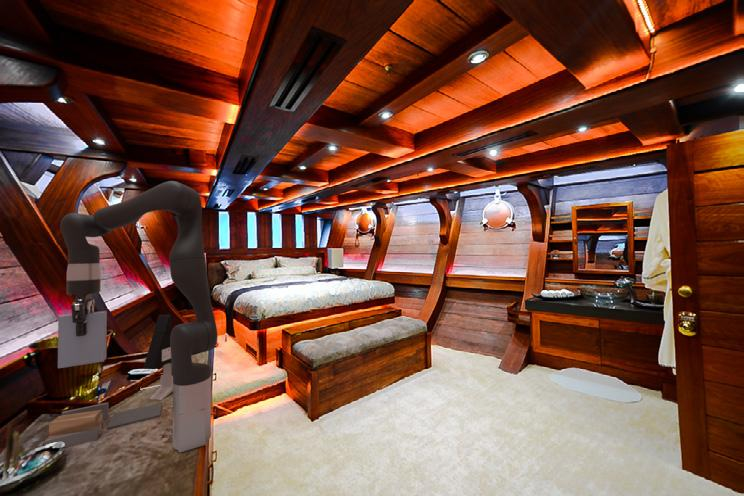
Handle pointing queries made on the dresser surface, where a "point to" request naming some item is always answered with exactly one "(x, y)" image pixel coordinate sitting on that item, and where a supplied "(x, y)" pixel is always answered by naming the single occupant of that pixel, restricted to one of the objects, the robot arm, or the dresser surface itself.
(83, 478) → the dresser surface
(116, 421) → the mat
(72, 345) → the sheet
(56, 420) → the offcut upper
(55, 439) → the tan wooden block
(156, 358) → the award
